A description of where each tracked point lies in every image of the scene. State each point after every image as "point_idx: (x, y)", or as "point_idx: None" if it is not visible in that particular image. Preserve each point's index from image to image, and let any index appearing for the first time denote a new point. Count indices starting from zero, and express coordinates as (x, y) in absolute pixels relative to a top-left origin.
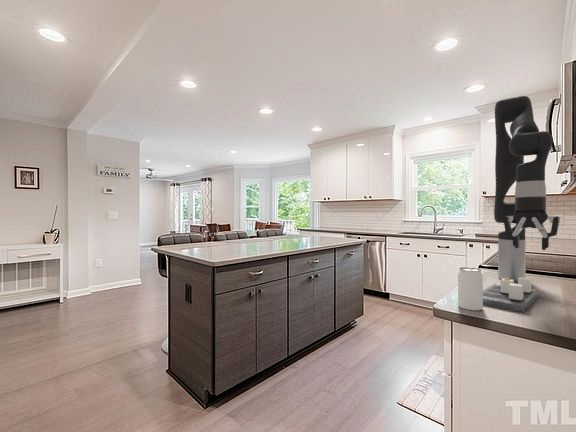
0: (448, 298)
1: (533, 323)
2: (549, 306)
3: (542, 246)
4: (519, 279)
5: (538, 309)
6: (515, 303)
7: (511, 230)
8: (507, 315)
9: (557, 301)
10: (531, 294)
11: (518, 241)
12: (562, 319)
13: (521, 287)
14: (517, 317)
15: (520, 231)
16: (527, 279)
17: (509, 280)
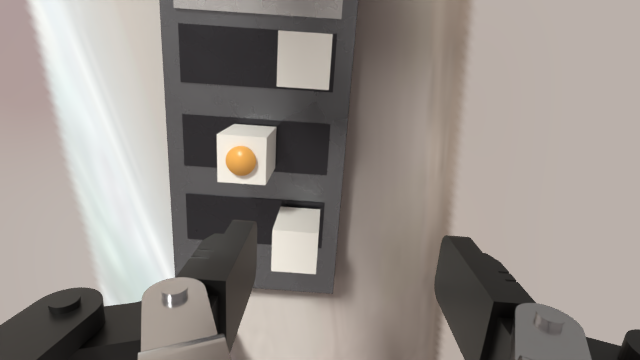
0: (104, 271)
1: (362, 354)
2: (396, 138)
3: (447, 310)
4: (284, 86)
5: (365, 207)
6: (306, 277)
7: (74, 332)
8: (298, 330)
9: (423, 24)
10: (337, 92)
11: (241, 287)
12: (426, 271)
13: (316, 262)
14: (323, 331)
15: (216, 333)
16: (319, 77)
17: (253, 171)
